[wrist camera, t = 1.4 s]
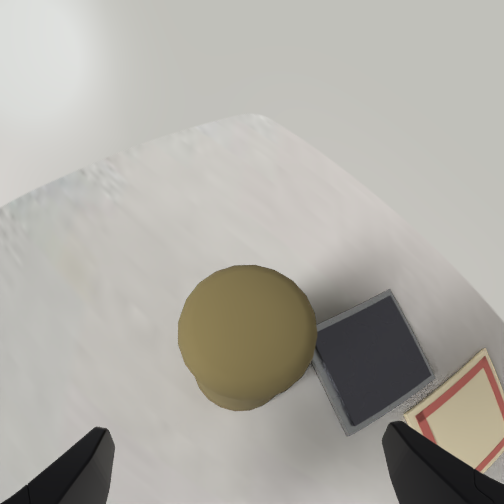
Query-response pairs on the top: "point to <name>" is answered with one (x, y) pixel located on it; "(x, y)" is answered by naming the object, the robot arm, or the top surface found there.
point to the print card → (465, 414)
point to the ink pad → (369, 361)
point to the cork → (246, 335)
